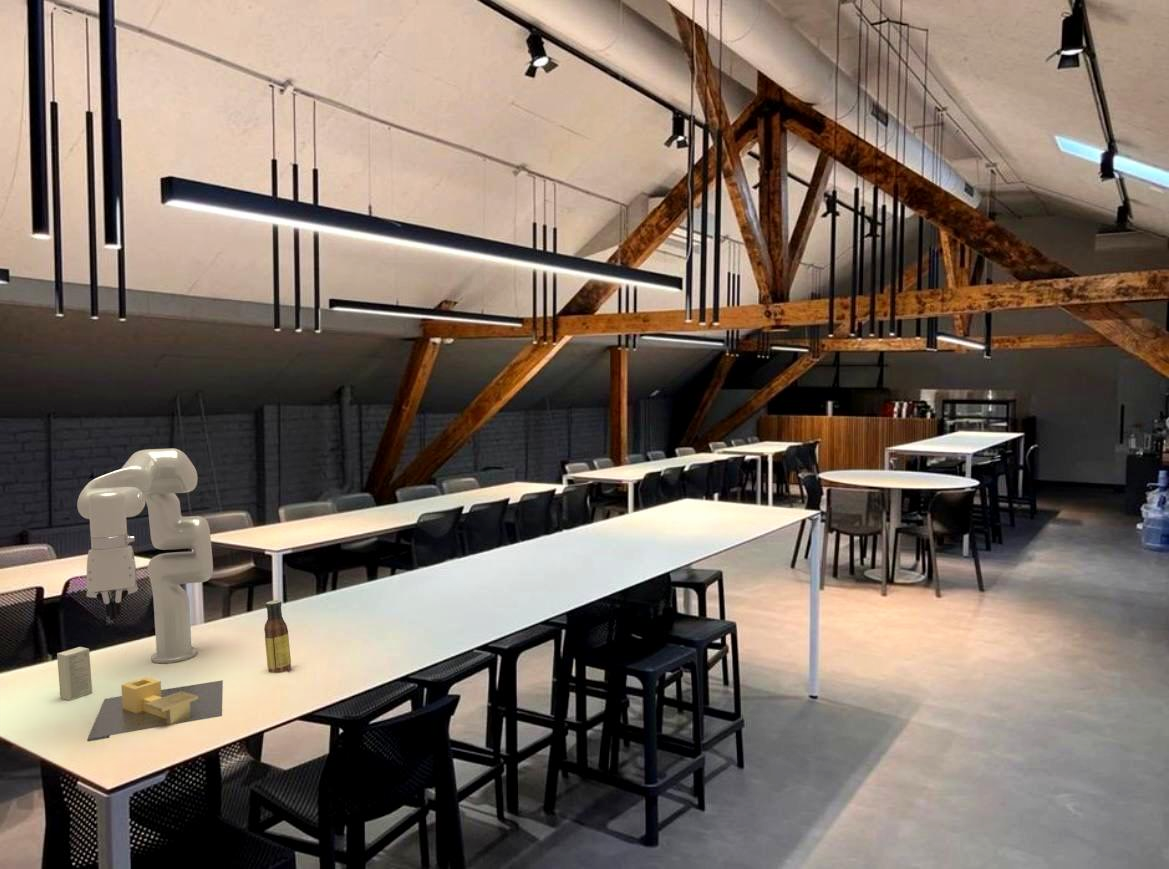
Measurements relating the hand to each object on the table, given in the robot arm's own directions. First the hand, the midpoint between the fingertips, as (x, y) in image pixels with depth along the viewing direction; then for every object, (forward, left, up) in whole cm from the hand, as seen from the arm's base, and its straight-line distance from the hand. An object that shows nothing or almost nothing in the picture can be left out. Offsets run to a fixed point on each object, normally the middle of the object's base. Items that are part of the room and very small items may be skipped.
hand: (114, 618), depth 194 cm
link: (-2, +7, -25) cm, 26 cm away
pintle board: (-3, +8, -25) cm, 27 cm away
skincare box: (-26, -13, -25) cm, 39 cm away
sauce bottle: (-20, +37, -25) cm, 49 cm away
